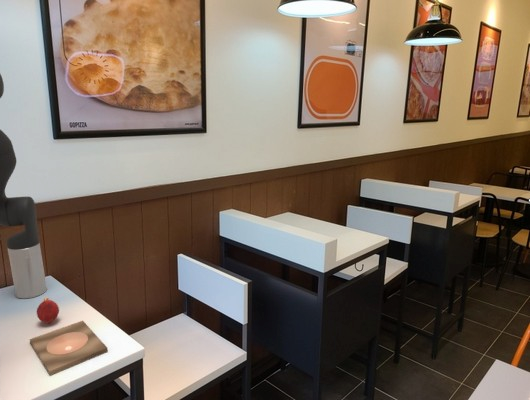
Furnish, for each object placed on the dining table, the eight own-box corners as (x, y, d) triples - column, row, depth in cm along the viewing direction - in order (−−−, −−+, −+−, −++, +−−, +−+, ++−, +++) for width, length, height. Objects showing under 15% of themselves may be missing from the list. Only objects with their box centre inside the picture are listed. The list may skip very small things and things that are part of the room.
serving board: (30, 343, 112) (29, 338, 111) (83, 324, 121) (82, 319, 120) (50, 375, 99) (49, 370, 98) (107, 351, 108) (107, 346, 108)
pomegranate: (61, 324, 121) (58, 299, 119) (39, 330, 118) (35, 305, 116) (59, 315, 126) (55, 291, 124) (37, 321, 123) (33, 296, 121)
